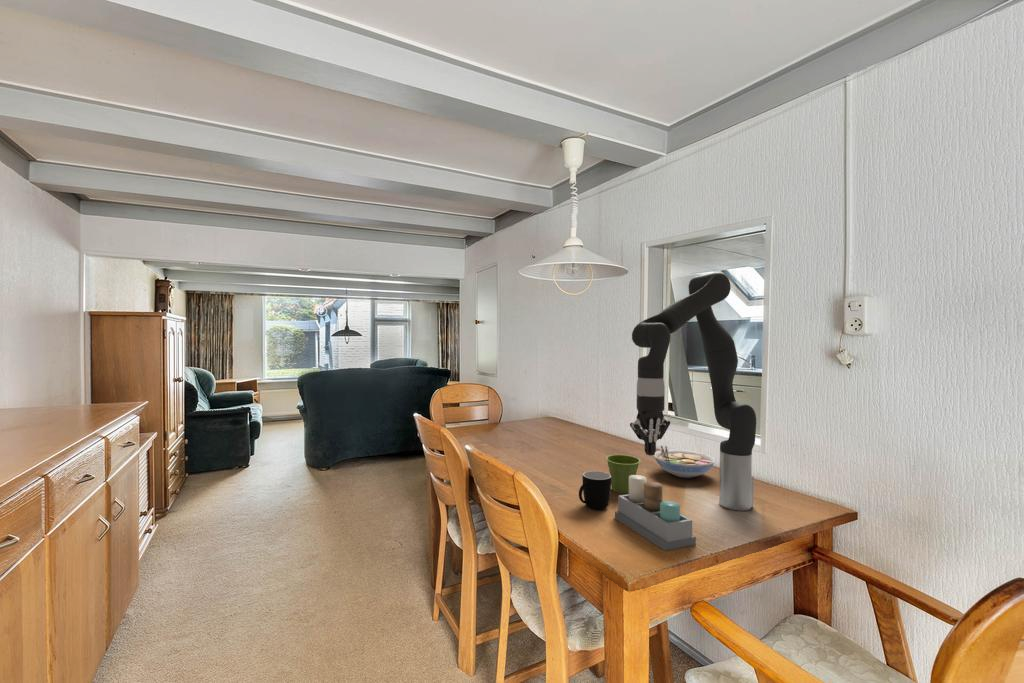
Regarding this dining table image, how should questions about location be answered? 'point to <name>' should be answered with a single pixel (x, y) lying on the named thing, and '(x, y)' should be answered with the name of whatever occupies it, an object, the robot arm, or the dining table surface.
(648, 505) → the brown rounded cylinder
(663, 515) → the teal rounded cylinder
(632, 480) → the white rounded piece
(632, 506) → the grey compartment tray
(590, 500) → the mug
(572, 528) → the dining table surface
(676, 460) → the ramen bowl
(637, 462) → the plant pot
